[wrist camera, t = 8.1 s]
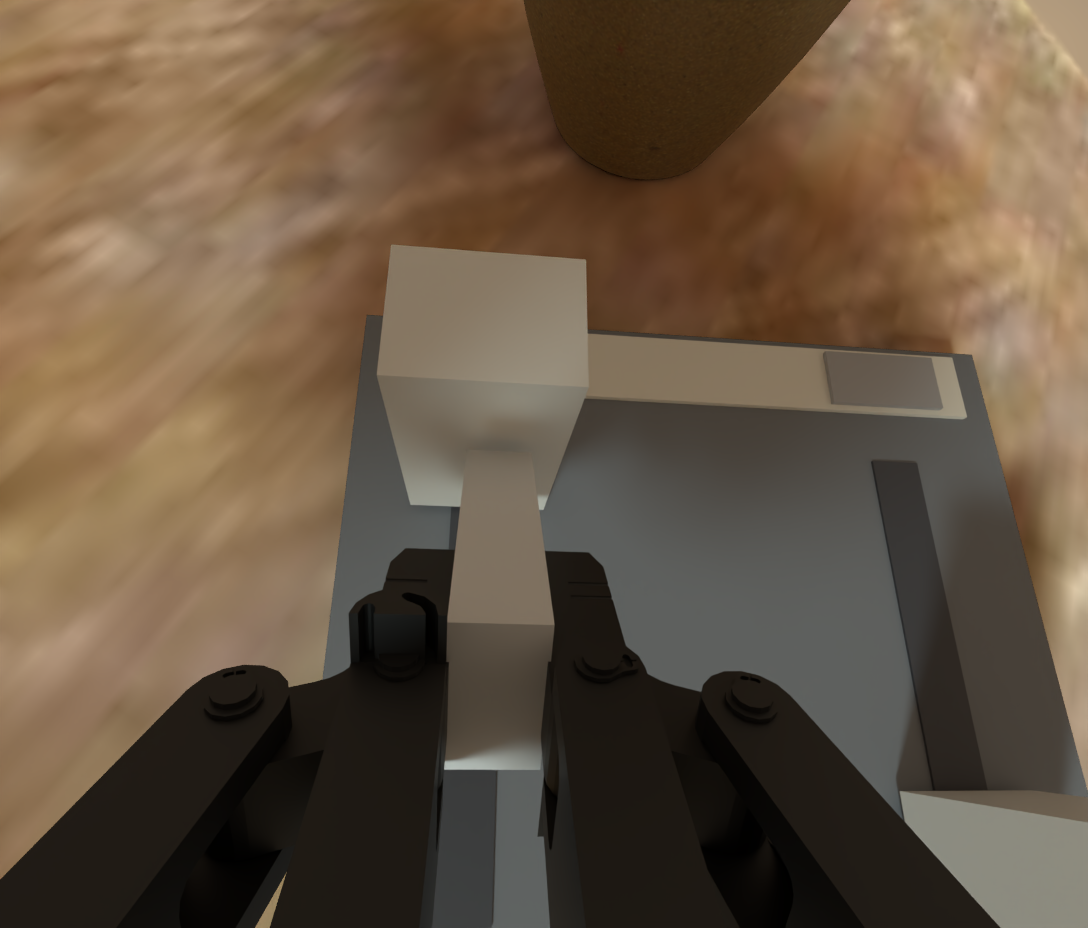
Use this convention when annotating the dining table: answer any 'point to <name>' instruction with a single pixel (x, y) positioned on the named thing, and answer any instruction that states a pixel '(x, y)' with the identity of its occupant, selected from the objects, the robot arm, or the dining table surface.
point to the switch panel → (760, 570)
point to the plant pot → (665, 72)
